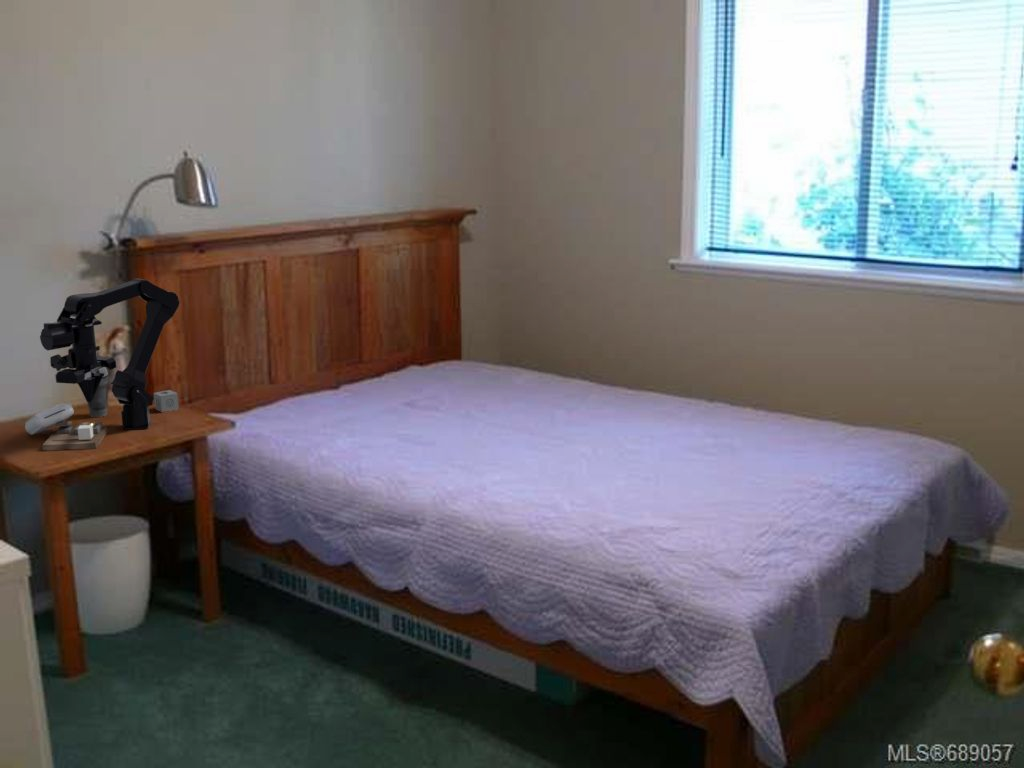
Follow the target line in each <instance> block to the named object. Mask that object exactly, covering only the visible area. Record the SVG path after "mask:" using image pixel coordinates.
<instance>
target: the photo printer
mask: <svg viewBox="0 0 1024 768" xmlns="http://www.w3.org/2000/svg"><path fill="white" fill-rule="evenodd" d="M74 412H75V411H74V408H73V406H72V404H71V403H70V402H62V403H59V404H57V405H53V406H51V407H49V408H46V409H44V410H42V411H40V412H38V413H36V414H35V415H33V416H32V417H31V418H29V419H28V420H27V421H26V422H25V423H24V424H25V425H24V428H25V432H26V433H28V434H30V435H31V436H33V435H37V434H39V433H42V432H44V431H47V430H49V429H52V428H53V427H56V426H57V422H65V421H66V420H67V419H69V418H70V417H72V416H74Z"/></svg>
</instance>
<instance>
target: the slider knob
mask: <svg viewBox="0 0 1024 768" xmlns="http://www.w3.org/2000/svg"><path fill="white" fill-rule="evenodd" d="M92 437H93V427H92V425H80V426H79V428H78V438H79V440H86V439H91V438H92Z"/></svg>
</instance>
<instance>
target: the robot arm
mask: <svg viewBox="0 0 1024 768" xmlns="http://www.w3.org/2000/svg"><path fill="white" fill-rule="evenodd" d="M137 297H139V298H140V299H141V300H143V301H144V302H146V305H145V313H146V314H145V315H146V319H145V322H144V324H143V327H142V329H141V332H140V334H139V337H138V338H137V341H136V345H135V346H134V349H133V351H132V355H131V356H130V359H129V362H128V365H127V366H126V367H125V368H124V369H123V370H116V372H115V375H114V378H113V380H112V381H111V382H110V384H111V385H112V386H111V392H112V394H113V396H114V398H116V399H117V402H118V403H119V404H120V405H122V410H121V411H120V413H121V424H122V426H123V428H122V430H145V429H149V427H150V425H151V424H152V422H153V421H152V420H151V415H150V406H152V405H153V403H154V396H152V395H151V394H150V393H149V392H147V391H146V388H147V379H146V378H147V377H146V372H147V370H148V367H149V364H150V362H151V359H152V356H153V354H154V353H155V349H156V346H157V343H158V342H159V339H160V336H161V334H162V332H163V328H164V326H165V324H167V323H168V322H169V320H171V319H172V318H173V317H174V316H175V314H176V312H177V310H178V309H179V307H180V299H179V297H178V295H177V294H176V293H175V292H173V291H168V290H165V289H164V288H161V287H159V286H157V285H155V284H154V283H152V282H150V281H149V280H147V279H144V278H136V277H135V278H134V279H132V280H131V281H127V282H124V283H121V284H118V285H115V286H112V287H108V288H106V289H103V290H100V291H96V292H90V293H89V292H88V293H77V294H71V295H69V296H67V297H66V299H65V302H64V306H63V308H62V310H61V311H60V314H59V315H58V318H57V319H56V321H55V322H46V323H45V322H44V323H43V328H42V330H41V332H40V336H39V339H40V340H39V341H40V343H41V345H42V347H43V349H45V350H46V351H53V350H58V349H59V350H60V349H63V348H68V351H67V353H68V354H66V355H63V356H62V355H60V354H55V355H51V356H50V360H49V362H50V367H52V368H53V369H56V371H57V372H56V374H55V375H54V376H55V378H54V379H55V383H58V384H59V383H60V384H72V385H75V384H77V385H78V387H79V388H80V391H81V392H82V395H83V397H84V399H85V400H86V402H92V401H93V398H94V396H95V393H96V390H97V388H98V386H99V383H100V381H101V379H102V377H103V376H104V373H100V372H99V371H98V369H100V368H102V367H106V369H107V370H110V371H111V370H114V369H116V368H117V361H116V360H115V359H114V357H113V356H112V357H111V356H109V357H108V356H98V351H101V349H100V346H99V345H96V334H95V326H99V325H102V321H101V320H100V319H98V318H97V317H96V316H97V315H99V314H100V313H101V312H102V311H103V310H104V309H106V308H107V307H110V306H112V305H116V304H119V303H122V302H125V301H128V300H131V299H134V298H137ZM69 347H70V348H69ZM96 351H97V353H96Z"/></svg>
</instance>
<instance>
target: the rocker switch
mask: <svg viewBox="0 0 1024 768" xmlns="http://www.w3.org/2000/svg"><path fill="white" fill-rule="evenodd" d="M72 425H73V421H68V420H67V421H66V420H65V421H63V422H57V425H56V426H57V427H58V426H59V427H60V426H72Z"/></svg>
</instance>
